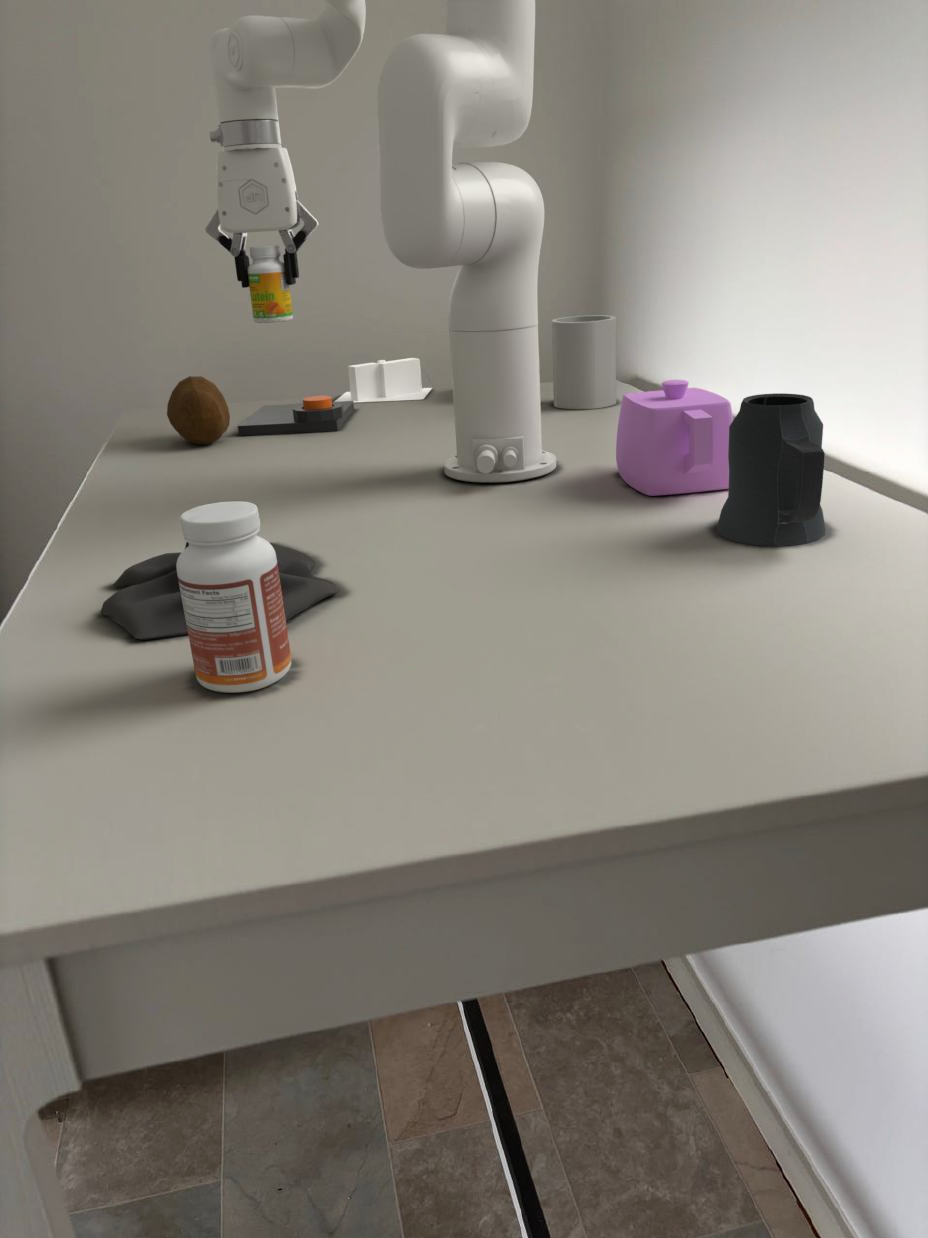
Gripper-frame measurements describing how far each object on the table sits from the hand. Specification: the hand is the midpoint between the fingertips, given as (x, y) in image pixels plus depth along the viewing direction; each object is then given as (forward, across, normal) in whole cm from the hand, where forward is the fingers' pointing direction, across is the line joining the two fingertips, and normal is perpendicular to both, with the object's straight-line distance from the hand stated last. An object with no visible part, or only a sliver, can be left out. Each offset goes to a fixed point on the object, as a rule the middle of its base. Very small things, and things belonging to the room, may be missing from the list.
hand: (269, 283), depth 138 cm
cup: (+20, +43, +7) cm, 48 cm away
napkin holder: (+20, +11, +25) cm, 34 cm away
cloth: (+20, +8, -68) cm, 71 cm away
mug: (+20, +54, -60) cm, 83 cm away
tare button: (+17, +5, -1) cm, 18 cm away
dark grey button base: (+20, +1, +4) cm, 20 cm away
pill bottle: (+20, +14, -85) cm, 88 cm away
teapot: (+20, +48, -40) cm, 66 cm away
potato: (+20, -11, -6) cm, 23 cm away
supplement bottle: (+5, 0, 0) cm, 5 cm away
